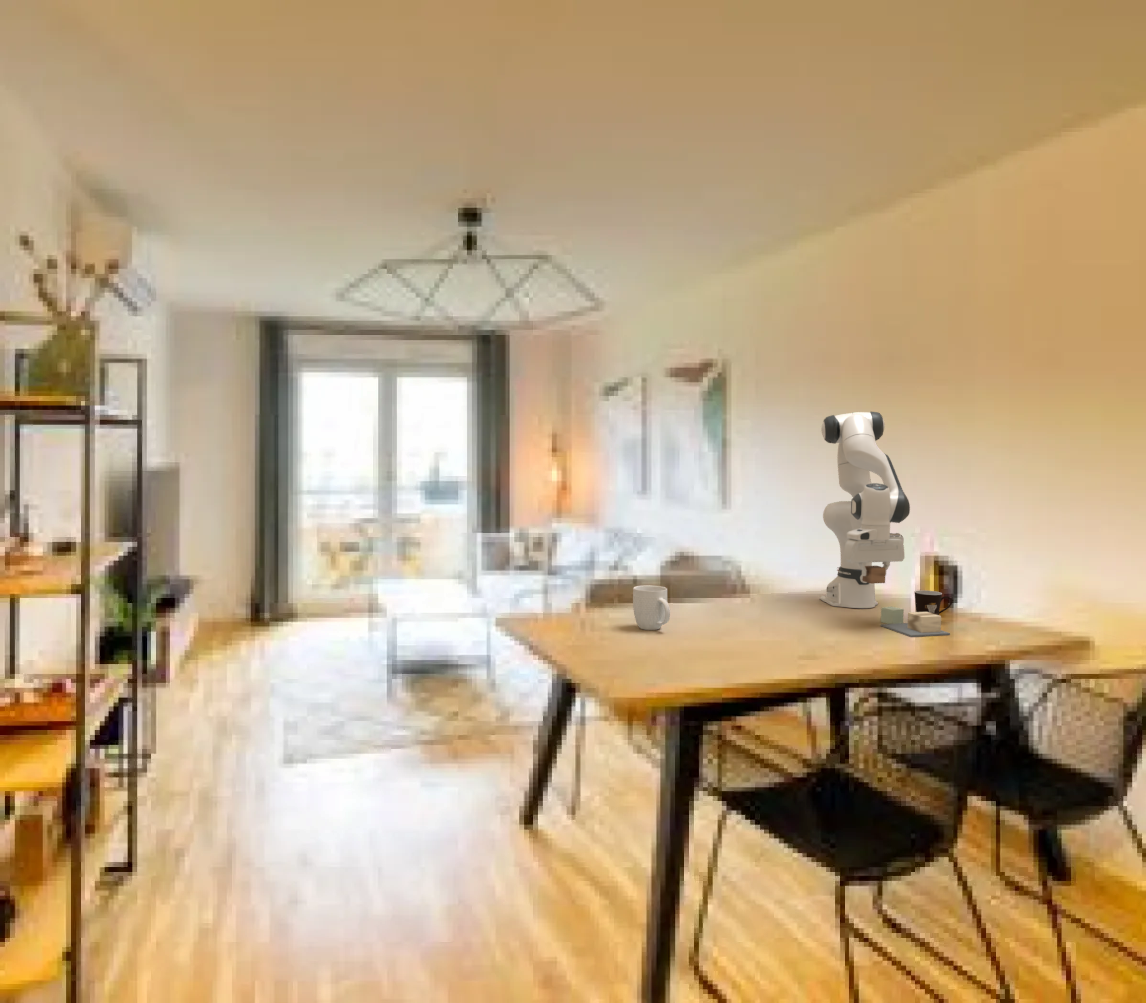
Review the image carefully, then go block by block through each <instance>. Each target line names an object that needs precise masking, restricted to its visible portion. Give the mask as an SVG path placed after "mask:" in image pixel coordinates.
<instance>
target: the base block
mask: <svg viewBox="0 0 1146 1003" xmlns="http://www.w3.org/2000/svg"><path fill="white" fill-rule="evenodd" d="M907 623H908V628H909V629H912V630H915V631H918V632H921V633H924V632H941V630H942V629H941V628H942V616H941V615H940V614H939V615H936V614H933V613H929V612H916V611H914V612H907Z"/></svg>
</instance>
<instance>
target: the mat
mask: <svg viewBox="0 0 1146 1003" xmlns="http://www.w3.org/2000/svg"><path fill="white" fill-rule="evenodd" d="M880 627H882V628H884V629H888V630H891V631H893V632H896V633H899V634H901V635H905V636H907V637H910V638H919V637H921V638H922V637H939V636H941V637H943V636H950V635H951V632H948V631H944V630H942V629H941V632H924V633H921V632H918V631H915V630H912V629H909V628H908V622H905V623H904V622H903V623H898V624H887V623H880Z"/></svg>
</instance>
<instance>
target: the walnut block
mask: <svg viewBox="0 0 1146 1003" xmlns="http://www.w3.org/2000/svg"><path fill="white" fill-rule="evenodd" d="M865 568H866V570H868V571H869V573H868V574H869V576H863V581H864V582H868V583H871V584H873V583H874V584H886V575H885V571H886V572H887V570H886V568H884V567H883V566H881V565H880V566H879V565H872V566H865Z"/></svg>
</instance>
